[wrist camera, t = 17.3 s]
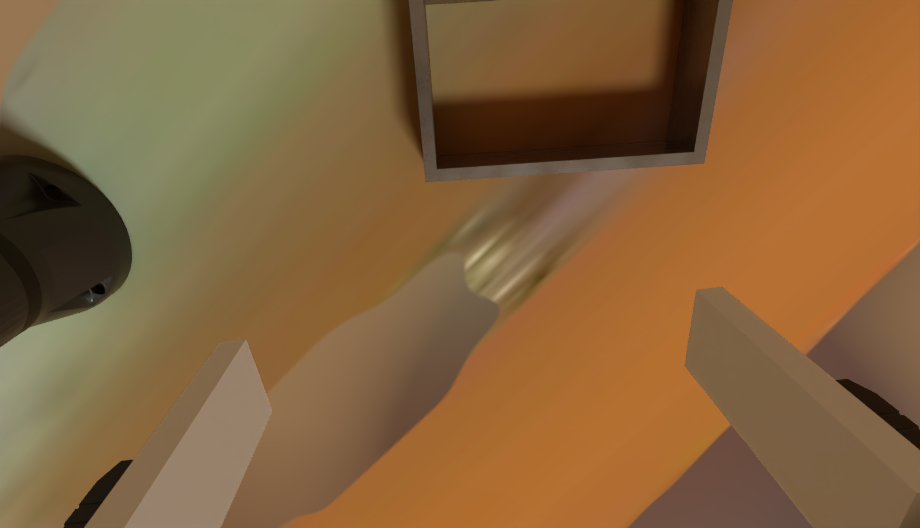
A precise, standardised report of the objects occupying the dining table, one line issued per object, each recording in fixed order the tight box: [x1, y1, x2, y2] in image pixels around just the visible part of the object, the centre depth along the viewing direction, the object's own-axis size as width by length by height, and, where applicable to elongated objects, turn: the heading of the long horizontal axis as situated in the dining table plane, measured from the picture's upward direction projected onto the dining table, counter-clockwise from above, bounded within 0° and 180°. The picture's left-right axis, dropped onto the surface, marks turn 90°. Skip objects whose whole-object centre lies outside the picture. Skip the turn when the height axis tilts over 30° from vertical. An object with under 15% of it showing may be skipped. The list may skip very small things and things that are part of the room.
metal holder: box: [409, 0, 733, 182], centre depth 36 cm, size 23×14×5 cm, turn 93°
